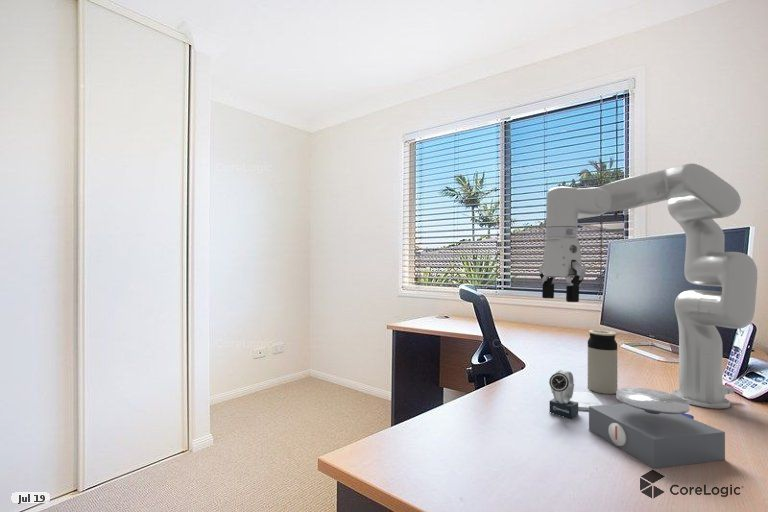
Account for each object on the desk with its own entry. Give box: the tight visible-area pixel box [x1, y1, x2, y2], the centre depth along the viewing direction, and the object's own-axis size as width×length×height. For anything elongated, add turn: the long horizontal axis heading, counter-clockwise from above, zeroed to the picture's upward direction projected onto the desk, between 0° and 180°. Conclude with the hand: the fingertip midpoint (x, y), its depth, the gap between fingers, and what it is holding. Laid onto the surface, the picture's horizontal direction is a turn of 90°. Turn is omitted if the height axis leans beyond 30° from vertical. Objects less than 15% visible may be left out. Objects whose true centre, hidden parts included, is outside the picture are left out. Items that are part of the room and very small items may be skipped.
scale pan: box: [615, 387, 691, 414], centre depth 83 cm, size 13×13×3 cm
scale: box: [588, 403, 726, 469], centre depth 82 cm, size 18×17×6 cm
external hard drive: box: [570, 391, 604, 411], centre depth 107 cm, size 2×8×12 cm
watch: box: [548, 369, 579, 420], centre depth 99 cm, size 6×8×11 cm
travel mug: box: [587, 329, 618, 395], centre depth 117 cm, size 8×8×18 cm
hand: (559, 299), depth 100 cm, fingers open, 9 cm apart
